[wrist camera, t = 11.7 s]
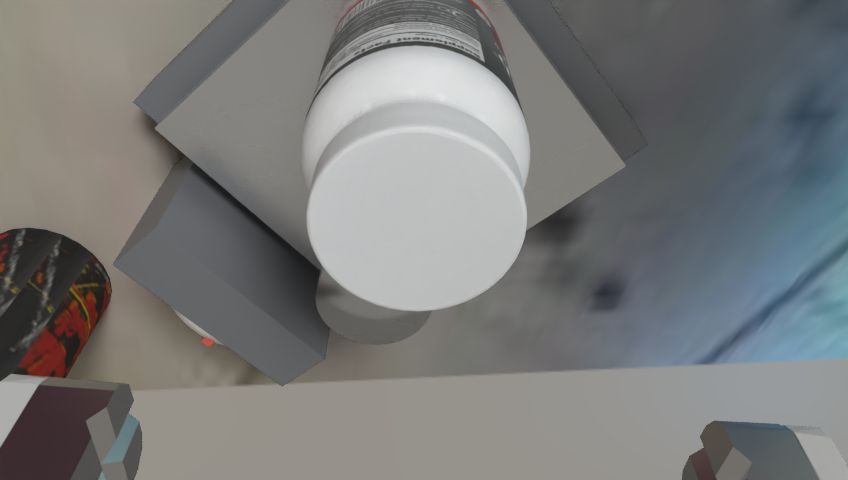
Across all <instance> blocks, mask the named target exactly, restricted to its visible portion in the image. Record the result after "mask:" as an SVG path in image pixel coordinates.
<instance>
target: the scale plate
mask: <svg viewBox="0 0 848 480" xmlns="http://www.w3.org/2000/svg"><path fill="white" fill-rule="evenodd" d="M355 1H356V0H285V1H284V2H283V3H282V4H281V5H280V6H279V7H278V8H277V9H276V10H275V11H274V12H273V13H272V14H270V15H269V16H268V17H267V18H266V19H265V20H264V21H263V22H262V23H261V24H260V25H259V26H258V27H257V28H256V29H255V30H254V31H252V32H251V33H250V34H249V35H248V36H247V37H246V38H245V39H244V40H243V41H242V42H241V43H240V44H239V45H238V46H237V47H236V48H235V49H233V50H232V51H231V52H230V53H229V54H228V55H227V56H226V57H225V58H224V59H223V60H222V61H221V62H220V63H219V64H218V65H217V66H215V67H214V68H213V69H212V70H211V71H210V72H209V73H208V74H207V75H206V76H205V77H204V78H203V79H202V80H201V81H200V82H199V83H198V84H196V85H195V86H194V87H193V88H192V89H191V90H190V91H189V92H188V93H187V94H186V95H185V96H184V97H183V98H182V99H181V100H180V101H178V102H177V103H176V104H175V105H174V106H173V107H172V108H171V109H170V110H169V111H168V112H167V113H166V114H165V115H164V116H163V118H162V119H161V120H160V122H159V123H158V124H157V126H156V127H155V128H154V129H155V130H156V131H158V132H159V133H160V134H161V135H162V136H164V137H165V138H166V139H167V140H168V141H169V142H171V143H172V144H173V145H174V146H175V147H176V148H178V149H179V150H180V151H181V152H182V153H183V154H185V155H186V156H187V157H188V158H189V159H190V160H192V161H193V162H194V163H195V164H196V165H197V166H199V167H200V168H201V169H202V170H203V171H204V172H206V173H207V174H208V175H209V176H210V177H211V178H213V179H214V180H215V181H216V182H217V183H218V184H220V185H221V186H222V187H223V188H224V189H226V190H227V191H228V192H229V193H230V194H231V195H233V196H234V197H235V198H236V199H237V200H238V201H240V202H241V203H242V204H243V205H244V206H245V207H247V208H248V209H249V210H250V211H251V212H252V213H254V214H255V215H256V216H257V217H258V218H259V219H261V220H262V221H263V222H264V223H265V224H266V225H268V226H269V227H270V228H271V229H272V230H273V231H275V232H276V233H277V234H278V235H279V236H280V237H282V238H283V239H284V240H285V241H286V242H287V243H289V244H290V245H291V246H292V247H293V248H295V249H296V250H297V251H298V252H299V253H300V254H302V255H303V256H304V257H305V258H306V259H307V260H309V261H310V262H311V263H312V264H313V265H314V266H316V267H317V268H318V269H319V270H321V263H320V262H319V260H318V259H317V257H316V255H315V253H314V251H313V248H312V246H311V243H310V240H309V236H308V232H307V225H306V210H307V201H308V196H309V193H308V191H307V188H306V185H305V181H304V177H303V173H302V167H301V140H302V134H303V129H304V123H305V120H306V116H307V113H308V110H309V107H310V104H311V101H312V98H313V95H314V92H315V89H316V86H317V83H318V79H319V76H320V73H321V70H322V67H323V63H324V60H325V57H326V54H327V50H328V47H329V44H330V41H331V38H332V35H333V33H334V31H335V29H336V26H337V25H338V23H339V21H340V20H341V18H342V17H343V15H344V14H345V12H346V11H347V10H348V9H349V8H350V6H351V5H352V4H353V3H354V2H355ZM474 1H475V2H476V3H477V4H478V5H479V6H480V7H481V8H482V10H483V11H484V12H485V13H486V15H487V16H488V18H489V19H490V21H491V22H492V24H493V26H494V28H495V30H496V32H497V34H498V37H499V39H500V42H501V45H502V48H503V51H504V54H505V57H506V61H507V64H508V67H509V70H510V74H511V76H512V80H513V82H514V86H515V89H516V92H517V95H518V98H519V101H520V104H521V108H522V110H523V113H524V116H525V120H526V124H527V128H528V134H529V141H530V165H529V172H528V177H527V180H526V184H525V187H524V196H525V202H526V207H527V227H526V230H528V229H529V228H531V227H533V226H534V225H536V224H537V223H539V222H540V221H542V220H543V219H545V218H547V217H548V216H550V215H551V214H553V213H554V212H556V211H557V210H559V209H561V208H562V207H564V206H565V205H567V204H568V203H570V202H571V201H573V200H575V199H576V198H578V197H579V196H581V195H582V194H584V193H585V192H587V191H588V190H590V189H592V188H593V187H595V186H596V185H598V184H599V183H601V182H602V181H604V180H606V179H607V178H609V177H610V176H612V175H613V174H615V173H616V172H618V171H620V170H621V169H623V168H624V167H626V165H625V163H624V161H623V159H622V157H621V155H620V153H619V151H618V150H617V149H616V147H615V146H614V145H613V143H612V142H611V141H610V139H609V138H608V136H607V135H606V134H605V132H604V131H603V130H602V128H601V127H600V126H599V124H598V123H597V122H596V120H595V119H594V118H593V116H592V115H591V113H590V112H589V111H588V109H587V108H586V107H585V105H584V104H583V103H582V101H581V100H580V99H579V97H578V96H577V95H576V93H575V92H574V90H573V89H572V88H571V86H570V85H569V84H568V82H567V81H566V80H565V78H564V77H563V76H562V74H561V73H560V72H559V70H558V69H557V67H556V66H555V65H554V63H553V62H552V61H551V59H550V58H549V57H548V55H547V54H546V53H545V51H544V50H543V49H542V47H541V46H540V45H539V43H538V42H537V40H536V39H535V38H534V36H533V35H532V34H531V32H530V31H529V30H528V28H527V27H526V26H525V24H524V23H523V22H522V20H521V19H520V17H519V16H518V15H517V13H516V12H515V11H514V9H513V8H512V7H511V5H510V4H509V3H508V1H507V0H474Z"/></svg>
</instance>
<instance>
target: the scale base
mask: <svg viewBox="0 0 848 480" xmlns="http://www.w3.org/2000/svg"><path fill="white" fill-rule="evenodd" d="M284 1H285V0H233V1H232V2H231V3H230V4H229V5H228V6H227V7H226V8H225V9H224V10H223V11H222V12H221V13H220V14H219V15H218V16H217V17H216V18H215V19H214V20H213V21H212V22H211V23H210V24H209V25H208V26H207V27H206V28H205V29H204V30H203V31H202V32H201V33H200V34H199V35H198V36H197V37H196V38H195V39H194V40H193V41H192V42H191V43H190V44H188V45H187V46H186V47H185V48H184V49H183V50H182V51H181V52H180V53H179V54H178V55H177V56H176V57H175V58H174V59H173V60H172V61H171V62H170V63H169V64H168V65H167V66H166V67H165V68H164V69H163V70H162V71H161V72H160V73H159V74H158V75H157V76H156V77H155V78H154V79H153V80H152V81H151V82H150V83H149V84H148V85H147V87H146V88H145V89H144V90H143V91H142V92H141V94H140V95H139V96H138V97H137V98H136V99H135V101H134V102H133V103H135V104H136V105H137V106H138V107H139V108H140V109H142V110H143V111H144V112H145V113H146V114H147V115H149V116H150V117H151V118H152V119H153V120H154V121H155V122H157V123H159V122H160V120H161V119H162V118H163V116H164V115H165V114H166V113H167V112H168V111H169V110H170V109H171V108H172V107H173V106H174V105H175V104H176V103H177V102H178V101H180V100H181V99H182V98H183V97H184V96H185V95H186V94H187V93H188V92H189V91H190V90H191V89H192V88H193V87H194V86H195V85H196V84H198V83H199V82H200V81H201V80H202V79H203V78H204V77H205V76H206V75H207V74H208V73H209V72H210V71H211V70H212V69H213V68H214V67H215V66H217V65H218V64H219V63H220V62H221V61H222V60H223V59H224V58H225V57H226V56H227V55H228V54H229V53H230V52H231V51H232V50H233V49H235V48H236V47H237V46H238V45H239V44H240V43H241V42H242V41H243V40H244V39H245V38H246V37H247V36H248V35H249V34H250V33H251V32H252V31H254V30H255V29H256V28H257V27H258V26H259V25H260V24H261V23H262V22H263V21H264V20H265V19H266V18H267V17H268V16H269V15H270V14H272V13H273V12H274V11H275V10H276V9H277V8H278V7H279V6H280V5H281V4H282V3H283V2H284ZM507 1H508V3H509V4H510V5H511V7H512V8H513V9H514V11H515V12H516V13H517V15H518V16H519V17H520V19H521V20H522V22H523V23H524V24H525V26H526V27H527V28H528V30H529V31H530V32H531V34H532V35H533V36H534V38H535V39H536V40H537V42H538V43H539V45H540V46H541V47H542V49H543V50H544V51H545V53H546V54H547V55H548V57H549V58H550V59H551V61H552V62H553V63H554V65H555V66H556V67H557V69H558V70H559V72H560V73H561V74H562V76H563V77H564V78H565V80H566V81H567V82H568V84H569V85H570V86H571V88H572V89H573V90H574V92H575V93H576V95H577V96H578V97H579V99H580V100H581V101H582V103H583V104H584V105H585V107H586V108H587V109H588V111H589V112H590V113H591V115H592V116H593V118H594V119H595V120H596V122H597V123H598V124H599V126H600V127H601V128H602V130H603V131H604V132H605V134H606V135H607V136H608V138H609V139H610V141H611V142H612V143H613V145H614V146H615V147H616V149H617V150H618V151H619V153H620V155H621V157H622V159H623V160H625V159H626V158H628V157H630V156H631V155H633V154H634V153H636V152H637V151H639V150H640V149H642V148H643V147H645V146H647V145H648V143H647V141H646V140H645V138H644V136H643V135H642V133H641V132H640V130H639V128H638V127H637V125H636V124H635V122H634V121H633V119H632V118H631V116H630V115H629V114H628V112H627V111H626V109H625V108H624V106H623V105H622V104H621V102H620V101H619V99H618V98H617V96H616V95H615V94H614V92H613V91H612V89H611V88H610V87H609V85H608V84H607V82H606V81H605V79H604V78H603V77H602V75H601V74H600V72H599V71H598V69H597V68H596V67H595V65H594V64H593V62H592V61H591V60H590V58H589V57H588V55H587V54H586V52H585V51H584V50H583V48H582V47H581V45H580V44H579V42H578V41H577V40H576V38H575V37H574V35H573V34H572V33H571V31H570V30H569V28H568V27H567V25H566V24H565V23H564V21H563V20H562V18H561V17H560V15H559V14H558V13H557V11H556V10H555V8H554V7H553V5H552V4H551V3H550V1H549V0H507ZM113 265H114V266H115V267H116V268H118V269H119V270H121V271H122V272H123V273H125V274H126V275H128V276H129V277H130V278H132V279H133V280H135V281H136V282H137V283H139V284H140V285H142V286H143V287H144V288H146V289H147V290H148V291H150V292H151V293H153V294H154V295H155V296H157V297H158V298H160V299H161V300H162V301H164V302H165V303H167V304H168V305H169V306H171V308H172V309H173V310H174V312H175V313H176V314H177V315H178V316H179V318H180V319H181V320H182V321H183V322H184V323H185V324H186V325H187V326H188V327H190V328H191V329H192V330H194V331H195V332H196V333H198V334H199V335H201V336H202V339H201V341H200V342H202V343H203V344H204V345H206V346H207V347H210V346H211V345H213V344H214V343H217V344H220V345H224V346H226V347H228V348H229V349H231V350H232V351H233V352H235V353H236V354H238V355H239V356H240V357H242V358H243V359H245V360H246V361H247V362H249V363H250V364H251V365H253V366H254V367H256V368H257V369H258V370H260V371H261V372H263V373H264V374H265V375H267V376H268V377H270V378H271V379H272V380H274V381H275V382H277V383H278V384H279V385H281V386H284V385H285V384H287V383H288V382H290V381H291V380H293V379H294V378H296V377H298V376H299V375H301V374H302V373H304V372H305V371H307V370H308V369H310V368H312V367H313V366H315V365H316V364H318V363H319V362H321V361H322V360H324V359H325V356H326V349H327V343H328V336H329V330H330V327H328V326H327V325H326V323H325V322H324V321H323V319H322V318H321V316H320V314H319V312H318V310H317V306H316V290H317V285H318V280H319V275H320V270H319V269H318V268H317V267H316V266H314V265H313V264H312V263H311V262H310V261H309V260H307V259H306V258H305V257H304V256H303V255H302V254H300V253H299V252H298V251H297V250H296V249H295V248H293V247H292V246H291V245H290V244H289V243H287V242H286V241H285V240H284V239H283V238H282V237H280V236H279V235H278V234H277V233H276V232H275V231H273V230H272V229H271V228H270V227H269V226H268V225H266V224H265V223H264V222H263V221H262V220H261V219H259V218H258V217H257V216H256V215H255V214H254V213H252V212H251V211H250V210H249V209H248V208H247V207H245V206H244V205H243V204H242V203H241V202H240V201H238V200H237V199H236V198H235V197H234V196H233V195H231V194H230V193H229V192H228V191H227V190H226V189H224V188H223V187H222V186H221V185H220V184H218V183H217V182H216V181H215V180H214V179H213V178H211V177H210V176H209V175H208V174H207V173H206V172H204V171H203V170H202V169H201V168H200V167H199V166H197V165H196V164H195V163H194V162H193V161H192V160H190V159H189V158H188V157H187V156H185V157H183V158H182V159H181V160H180V161H179V162H178V163H177V164H176V165H174V166H173V168H172V169H171V171H170V173H169V174H168V176H167V177H166V179H165V181H164V182H163V184H162V186H161V187H160V189H159V190H158V192H157V194H156V195H155V197H154V199H153V200H152V202H151V203H150V205H149V207H148V208H147V210H146V211H145V213H144V215H143V216H142V218H141V220H140V221H139V223H138V224H137V226H136V228H135V229H134V231H133V232H132V234H131V236H130V237H129V239H128V241H127V242H126V244H125V245H124V247H123V249H122V250H121V252H120V254H119V255H118V257H117V258H116V260H115V262H114V263H113Z"/></svg>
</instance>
